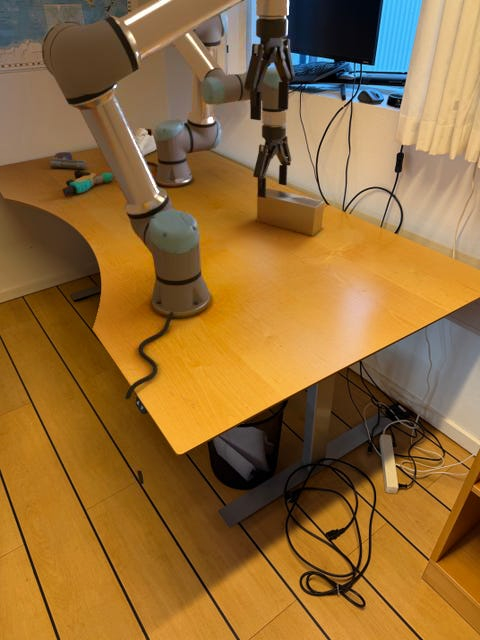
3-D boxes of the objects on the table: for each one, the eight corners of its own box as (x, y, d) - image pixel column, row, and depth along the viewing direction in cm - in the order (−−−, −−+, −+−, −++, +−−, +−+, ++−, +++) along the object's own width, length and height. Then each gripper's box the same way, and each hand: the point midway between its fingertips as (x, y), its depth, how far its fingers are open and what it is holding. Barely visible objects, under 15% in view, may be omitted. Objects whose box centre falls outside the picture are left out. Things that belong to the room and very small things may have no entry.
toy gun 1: (98, 160, 223) (83, 171, 211) (61, 158, 226) (45, 169, 214) (96, 152, 220) (81, 162, 208) (59, 150, 223) (43, 160, 212)
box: (321, 228, 161) (324, 201, 155) (312, 236, 156) (314, 207, 151) (266, 214, 171) (267, 188, 165) (256, 221, 166) (257, 194, 161)
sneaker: (112, 165, 217) (107, 137, 210) (140, 147, 239) (137, 122, 232) (133, 167, 215) (128, 139, 207) (159, 148, 237) (156, 123, 230)
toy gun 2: (40, 183, 186) (69, 189, 180) (86, 165, 204) (114, 170, 199) (43, 194, 188) (72, 201, 183) (88, 175, 207) (115, 180, 201)
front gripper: (284, 13, 121) (281, 103, 134) (228, 20, 105) (230, 122, 117) (311, 14, 118) (305, 106, 130) (256, 22, 101) (256, 126, 114)
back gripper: (283, 114, 158) (281, 177, 170) (241, 131, 141) (242, 200, 154) (303, 117, 155) (300, 181, 167) (262, 135, 138) (262, 204, 150)
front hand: (269, 114), depth 124 cm, fingers open, 13 cm apart
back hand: (272, 190), depth 160 cm, fingers open, 13 cm apart
